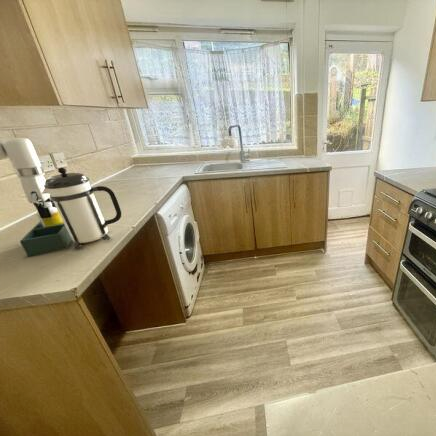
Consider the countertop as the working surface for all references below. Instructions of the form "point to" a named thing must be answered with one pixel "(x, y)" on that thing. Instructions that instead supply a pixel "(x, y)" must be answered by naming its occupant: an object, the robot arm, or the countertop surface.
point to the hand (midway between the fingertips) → (49, 214)
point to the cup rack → (45, 239)
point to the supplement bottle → (52, 220)
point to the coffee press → (80, 206)
